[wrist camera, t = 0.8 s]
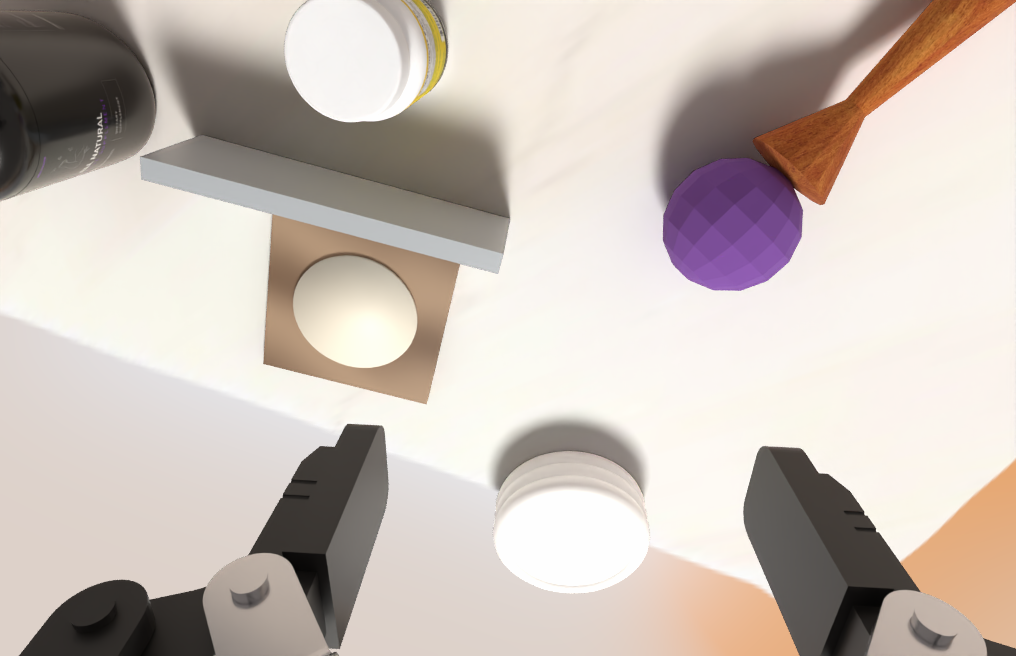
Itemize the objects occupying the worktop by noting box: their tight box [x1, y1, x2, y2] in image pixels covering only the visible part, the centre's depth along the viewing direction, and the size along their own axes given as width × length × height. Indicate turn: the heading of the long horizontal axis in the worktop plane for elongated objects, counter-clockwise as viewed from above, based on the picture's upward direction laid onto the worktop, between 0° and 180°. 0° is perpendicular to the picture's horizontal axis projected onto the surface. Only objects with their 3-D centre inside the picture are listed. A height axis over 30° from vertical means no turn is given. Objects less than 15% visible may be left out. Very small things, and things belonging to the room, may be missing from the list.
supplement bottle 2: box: [284, 0, 448, 122], centre depth 23 cm, size 5×5×8 cm
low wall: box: [140, 135, 510, 274], centre depth 28 cm, size 1×16×5 cm, turn 75°
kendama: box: [663, 0, 1016, 291], centre depth 25 cm, size 6×6×20 cm
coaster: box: [493, 451, 650, 593], centre depth 38 cm, size 10×10×4 cm
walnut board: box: [263, 214, 460, 404], centre depth 33 cm, size 10×10×1 cm
